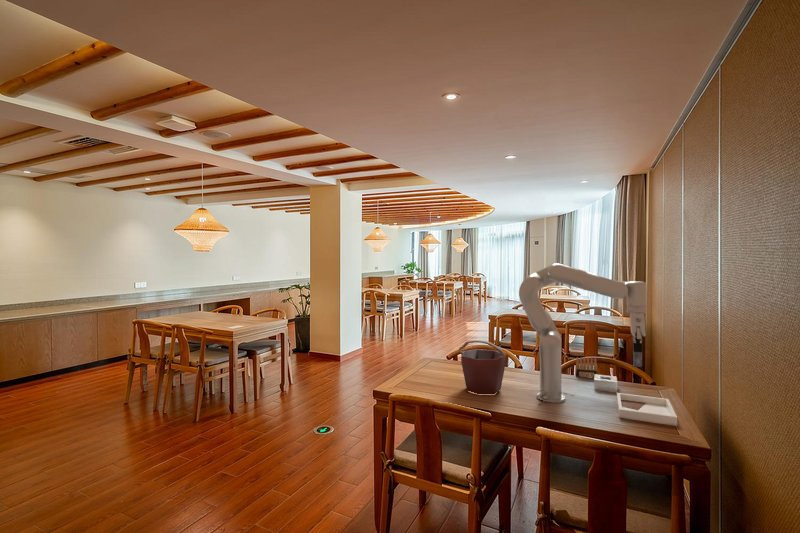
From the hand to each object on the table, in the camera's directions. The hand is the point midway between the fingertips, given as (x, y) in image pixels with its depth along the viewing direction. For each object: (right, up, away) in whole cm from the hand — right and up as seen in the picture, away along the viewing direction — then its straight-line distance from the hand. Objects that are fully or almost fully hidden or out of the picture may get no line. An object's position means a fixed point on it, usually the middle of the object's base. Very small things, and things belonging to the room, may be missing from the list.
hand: (637, 350), depth 173 cm
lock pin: (0, -7, 0) cm, 7 cm away
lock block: (-1, -25, +24) cm, 35 cm away
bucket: (-62, -26, +28) cm, 73 cm away
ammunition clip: (-2, -25, +43) cm, 49 cm away
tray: (+1, -26, -4) cm, 26 cm away
